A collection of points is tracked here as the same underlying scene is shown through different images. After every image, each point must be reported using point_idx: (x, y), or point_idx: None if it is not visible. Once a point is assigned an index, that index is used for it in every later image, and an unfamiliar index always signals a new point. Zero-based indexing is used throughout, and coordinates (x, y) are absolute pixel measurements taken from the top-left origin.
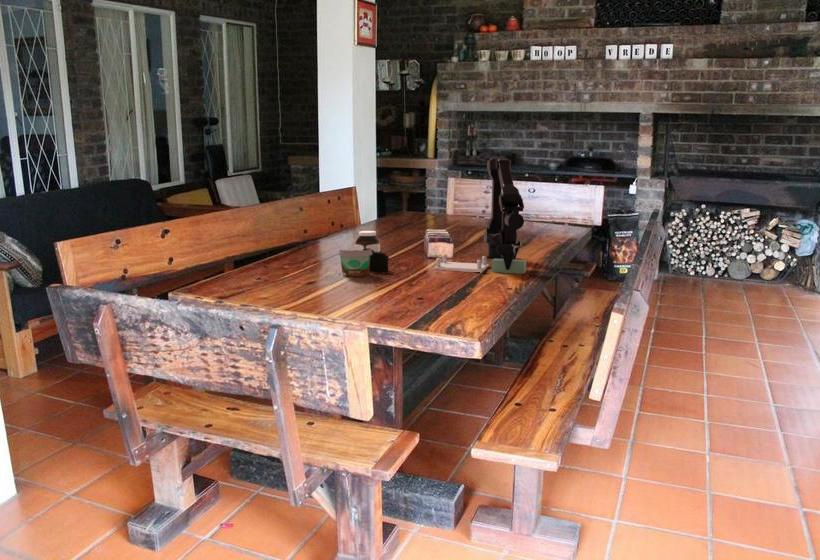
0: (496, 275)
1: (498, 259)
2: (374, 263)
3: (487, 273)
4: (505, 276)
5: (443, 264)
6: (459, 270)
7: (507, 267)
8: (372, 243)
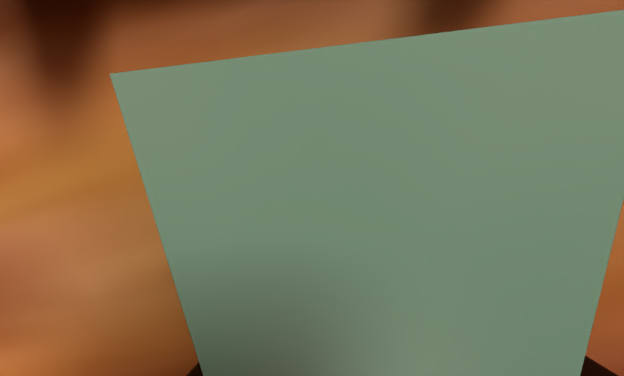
0: (41, 221)
1: (438, 227)
2: None
3: (94, 53)
4: (56, 322)
5: None
6: None
7: None
8: None
